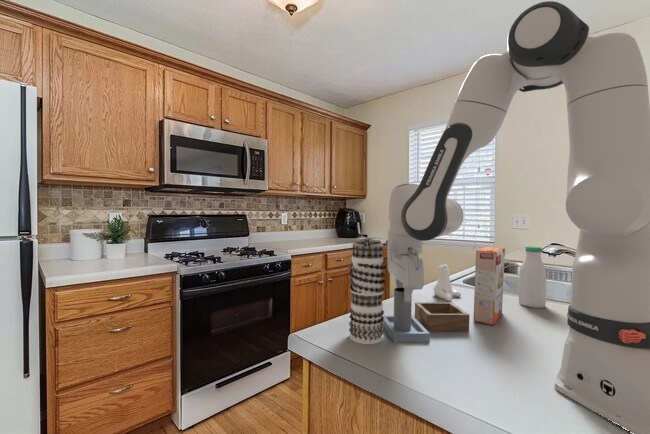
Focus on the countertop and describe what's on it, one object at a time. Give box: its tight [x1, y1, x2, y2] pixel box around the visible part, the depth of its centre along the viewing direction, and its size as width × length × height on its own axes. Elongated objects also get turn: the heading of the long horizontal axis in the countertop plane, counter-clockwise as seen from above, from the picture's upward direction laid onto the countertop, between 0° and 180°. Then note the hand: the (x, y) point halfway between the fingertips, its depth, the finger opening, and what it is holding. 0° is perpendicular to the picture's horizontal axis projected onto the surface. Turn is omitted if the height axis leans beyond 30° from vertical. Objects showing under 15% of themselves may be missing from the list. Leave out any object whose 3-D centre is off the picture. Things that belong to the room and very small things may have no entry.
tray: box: [382, 314, 431, 343], centre depth 85 cm, size 13×9×2 cm
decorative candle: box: [348, 237, 387, 345], centre depth 80 cm, size 9×9×25 cm
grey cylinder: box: [393, 287, 413, 331], centre depth 85 cm, size 4×4×10 cm
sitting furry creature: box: [433, 263, 462, 302], centre depth 118 cm, size 10×9×12 cm
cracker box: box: [473, 246, 506, 326], centre depth 96 cm, size 14×6×21 cm, turn 143°
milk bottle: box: [518, 245, 547, 309], centre depth 109 cm, size 8×8×20 cm
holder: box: [414, 301, 470, 333], centre depth 90 cm, size 11×11×4 cm
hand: (403, 297), depth 84 cm, fingers closed on grey cylinder, 4 cm apart
